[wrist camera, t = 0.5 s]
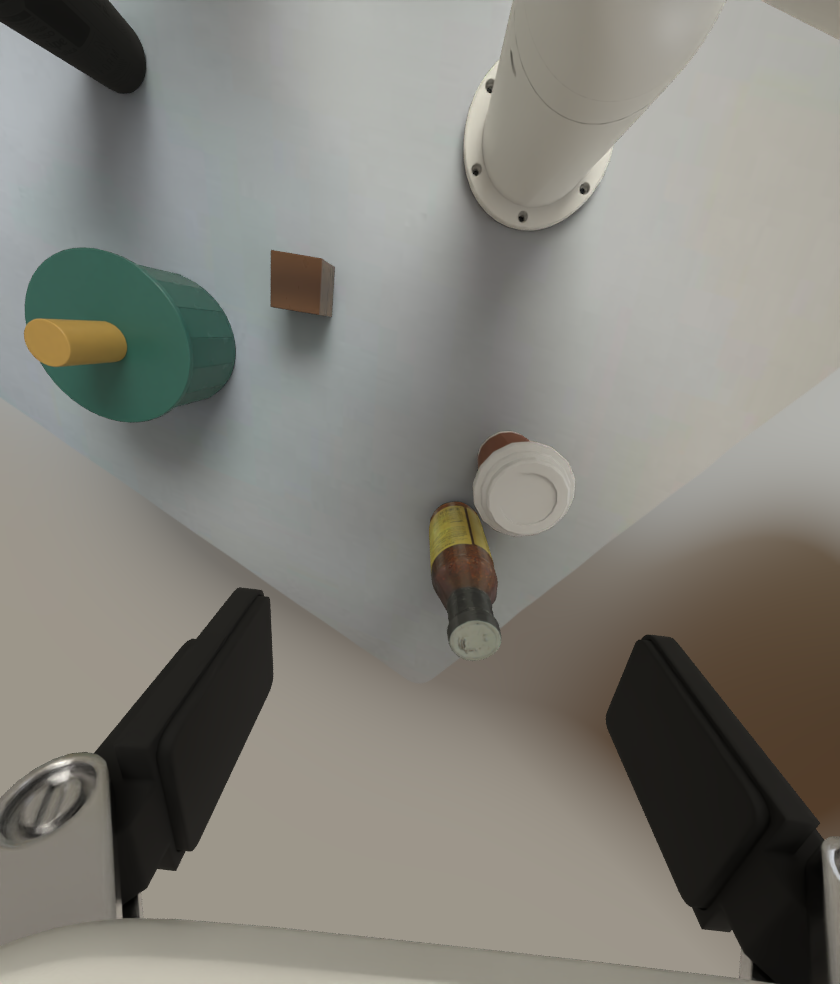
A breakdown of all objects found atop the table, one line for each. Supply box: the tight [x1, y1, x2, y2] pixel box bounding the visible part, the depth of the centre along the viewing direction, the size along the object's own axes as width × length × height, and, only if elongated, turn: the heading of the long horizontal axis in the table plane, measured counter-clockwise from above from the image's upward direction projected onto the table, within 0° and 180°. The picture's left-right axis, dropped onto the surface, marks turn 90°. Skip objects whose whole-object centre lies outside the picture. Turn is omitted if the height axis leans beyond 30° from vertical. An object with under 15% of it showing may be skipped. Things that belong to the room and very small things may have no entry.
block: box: [271, 250, 335, 317], centre depth 36 cm, size 4×4×4 cm
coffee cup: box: [473, 431, 575, 536], centre depth 39 cm, size 9×9×12 cm
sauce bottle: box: [429, 502, 501, 661], centre depth 38 cm, size 7×6×20 cm
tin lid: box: [24, 248, 193, 423], centre depth 30 cm, size 14×14×7 cm
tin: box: [138, 265, 236, 407], centre depth 37 cm, size 13×13×8 cm
